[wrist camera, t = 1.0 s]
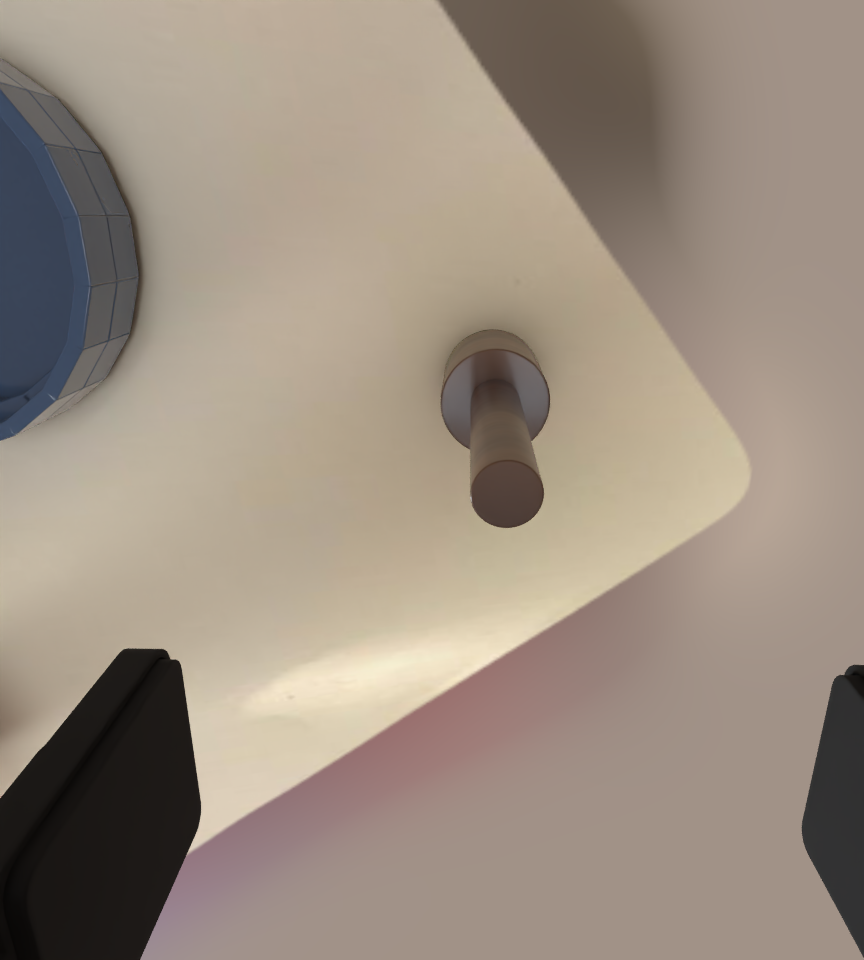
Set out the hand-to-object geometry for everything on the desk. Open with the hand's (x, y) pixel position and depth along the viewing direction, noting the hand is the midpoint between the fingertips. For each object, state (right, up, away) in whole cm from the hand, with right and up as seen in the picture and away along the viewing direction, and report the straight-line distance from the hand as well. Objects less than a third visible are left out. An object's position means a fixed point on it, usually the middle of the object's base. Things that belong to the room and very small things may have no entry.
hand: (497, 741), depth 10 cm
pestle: (+2, +9, +23) cm, 25 cm away
